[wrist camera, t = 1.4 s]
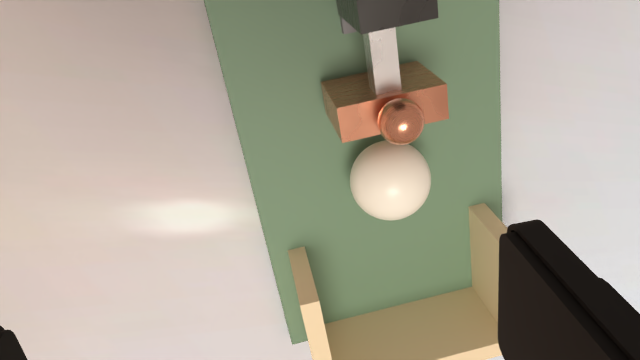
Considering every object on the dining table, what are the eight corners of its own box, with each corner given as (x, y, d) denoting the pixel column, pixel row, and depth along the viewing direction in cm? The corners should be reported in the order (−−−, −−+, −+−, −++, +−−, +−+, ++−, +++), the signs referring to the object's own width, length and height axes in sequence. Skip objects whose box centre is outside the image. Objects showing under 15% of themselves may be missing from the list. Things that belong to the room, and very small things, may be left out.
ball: (336, 137, 35) (354, 171, 31) (412, 120, 36) (440, 151, 31) (348, 204, 38) (366, 244, 33) (418, 187, 38) (445, 224, 34)
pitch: (174, -117, 29) (165, -122, 22) (488, -175, 30) (560, -195, 24) (290, 335, 43) (303, 407, 37) (497, 283, 45) (543, 344, 39)
